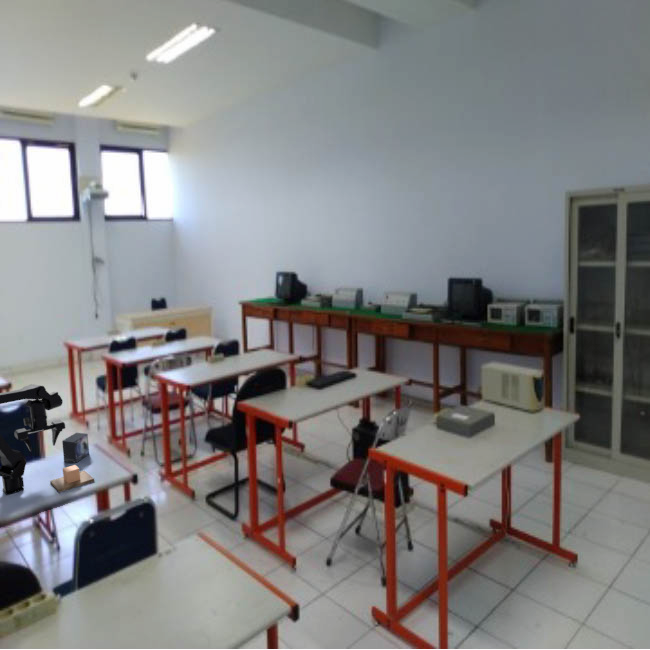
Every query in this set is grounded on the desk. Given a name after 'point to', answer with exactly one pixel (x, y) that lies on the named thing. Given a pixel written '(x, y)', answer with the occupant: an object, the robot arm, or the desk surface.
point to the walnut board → (63, 485)
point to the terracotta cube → (71, 474)
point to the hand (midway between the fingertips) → (42, 448)
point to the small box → (75, 447)
